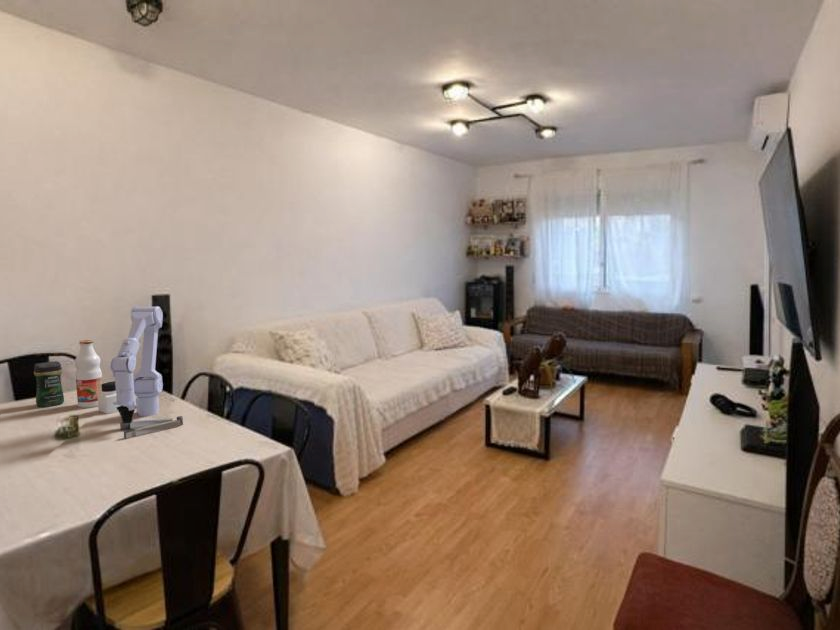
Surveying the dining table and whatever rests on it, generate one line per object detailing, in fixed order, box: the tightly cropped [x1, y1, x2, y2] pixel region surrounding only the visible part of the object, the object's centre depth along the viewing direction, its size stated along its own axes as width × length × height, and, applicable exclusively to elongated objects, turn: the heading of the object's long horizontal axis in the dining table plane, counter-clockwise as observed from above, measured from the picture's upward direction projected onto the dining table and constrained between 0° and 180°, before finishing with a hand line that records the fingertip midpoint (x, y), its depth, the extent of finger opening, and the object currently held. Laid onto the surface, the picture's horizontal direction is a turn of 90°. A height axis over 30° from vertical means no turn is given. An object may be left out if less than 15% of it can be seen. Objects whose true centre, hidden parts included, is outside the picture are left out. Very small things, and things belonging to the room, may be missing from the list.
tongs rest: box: [123, 415, 184, 440], centre depth 180 cm, size 18×22×4 cm
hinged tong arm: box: [119, 417, 174, 431], centre depth 182 cm, size 17×2×2 cm, turn 106°
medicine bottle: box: [97, 380, 121, 415], centre depth 206 cm, size 7×7×12 cm
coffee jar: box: [33, 360, 65, 408], centre depth 213 cm, size 10×8×19 cm
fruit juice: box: [74, 339, 104, 409], centre depth 212 cm, size 9×9×28 cm
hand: (127, 425), depth 182 cm, fingers closed
